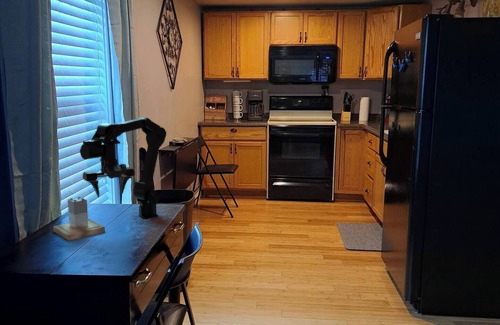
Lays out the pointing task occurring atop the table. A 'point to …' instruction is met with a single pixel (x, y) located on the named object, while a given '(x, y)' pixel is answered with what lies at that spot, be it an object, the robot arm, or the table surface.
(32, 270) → the table surface
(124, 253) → the table surface
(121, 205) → the table surface
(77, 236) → the stand
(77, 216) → the plate
